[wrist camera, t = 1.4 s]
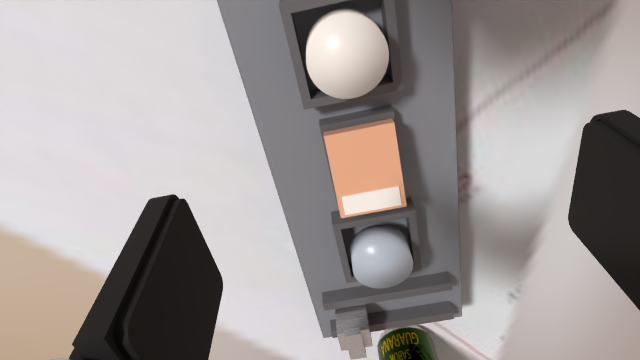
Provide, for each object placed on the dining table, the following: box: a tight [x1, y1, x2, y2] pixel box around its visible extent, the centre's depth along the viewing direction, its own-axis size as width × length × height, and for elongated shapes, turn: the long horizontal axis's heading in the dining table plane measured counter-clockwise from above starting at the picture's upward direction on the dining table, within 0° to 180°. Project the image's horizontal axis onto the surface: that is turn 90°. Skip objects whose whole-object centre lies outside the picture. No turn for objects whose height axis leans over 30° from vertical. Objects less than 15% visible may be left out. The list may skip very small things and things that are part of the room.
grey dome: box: [350, 224, 413, 289], centre depth 28 cm, size 4×4×2 cm
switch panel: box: [217, 0, 462, 338], centre depth 29 cm, size 28×12×4 cm, turn 12°
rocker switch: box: [324, 119, 407, 218], centre depth 24 cm, size 5×4×1 cm
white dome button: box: [306, 8, 389, 99], centre depth 21 cm, size 4×4×2 cm
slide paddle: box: [335, 304, 372, 360], centre depth 32 cm, size 3×2×4 cm
